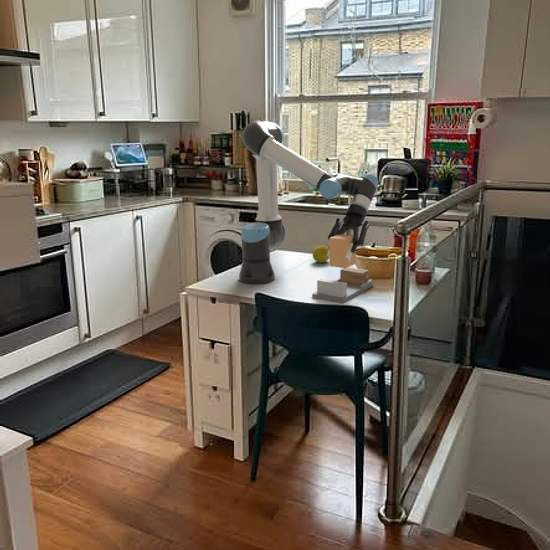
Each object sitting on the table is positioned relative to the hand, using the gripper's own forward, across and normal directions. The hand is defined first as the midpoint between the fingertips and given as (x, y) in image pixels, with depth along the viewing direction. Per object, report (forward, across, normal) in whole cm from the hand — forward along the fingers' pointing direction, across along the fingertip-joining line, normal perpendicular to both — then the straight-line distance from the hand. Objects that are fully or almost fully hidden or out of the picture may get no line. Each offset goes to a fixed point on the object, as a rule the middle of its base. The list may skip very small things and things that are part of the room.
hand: (338, 257), depth 207 cm
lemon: (-18, +31, -40) cm, 53 cm away
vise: (+7, +1, -14) cm, 16 cm away
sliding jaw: (-1, 0, -19) cm, 19 cm away
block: (0, 0, -5) cm, 5 cm away
